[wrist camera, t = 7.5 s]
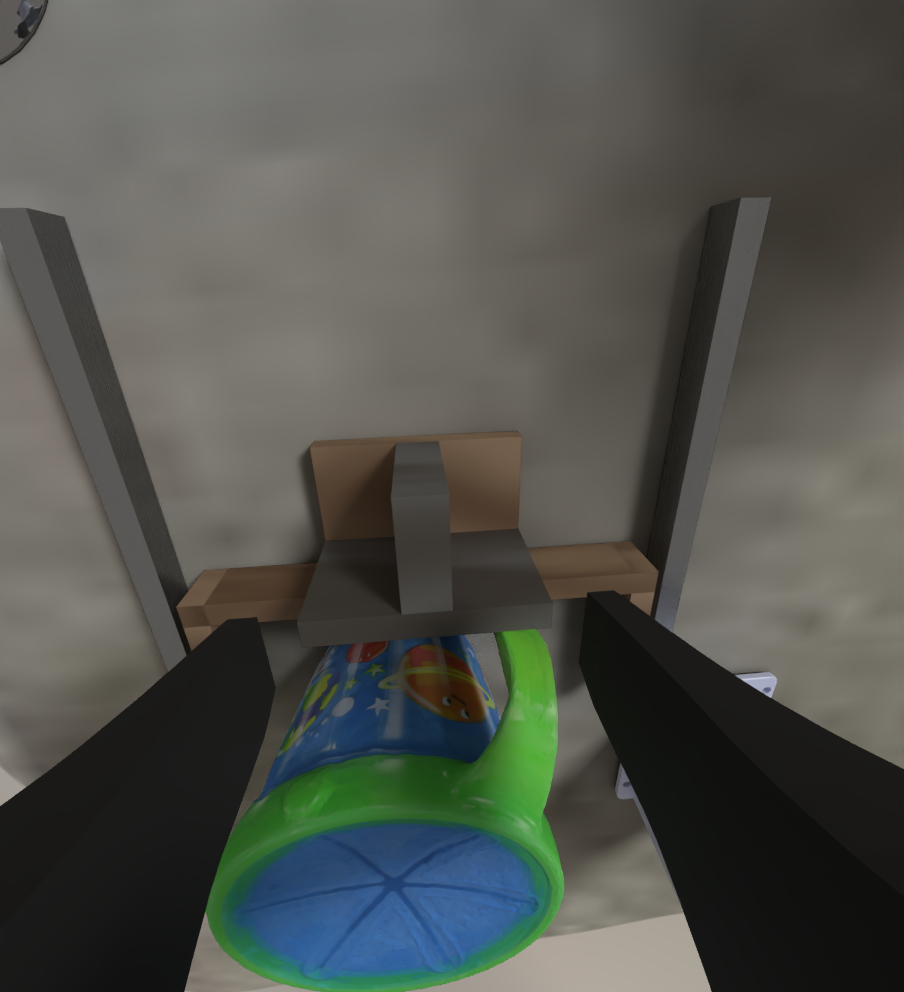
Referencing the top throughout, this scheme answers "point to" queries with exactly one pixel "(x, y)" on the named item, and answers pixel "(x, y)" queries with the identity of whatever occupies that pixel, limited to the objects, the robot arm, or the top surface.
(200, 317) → the top surface
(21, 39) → the wine glass
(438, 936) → the snack cup
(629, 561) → the pull frame
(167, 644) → the guide rails
